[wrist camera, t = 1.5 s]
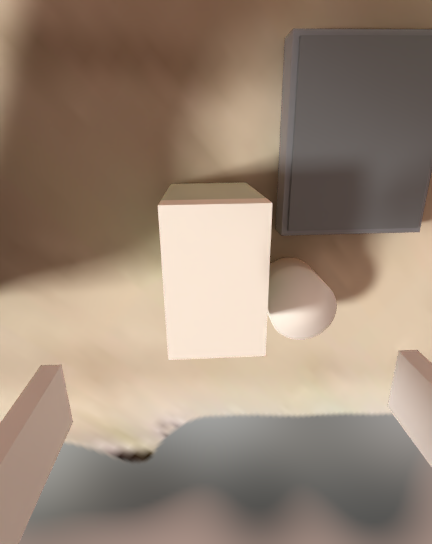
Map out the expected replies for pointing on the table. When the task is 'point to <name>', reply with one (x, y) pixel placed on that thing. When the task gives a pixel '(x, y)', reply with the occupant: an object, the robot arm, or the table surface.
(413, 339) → the table surface
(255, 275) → the carton
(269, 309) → the cream rounded domed part
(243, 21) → the table surface
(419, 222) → the podium
